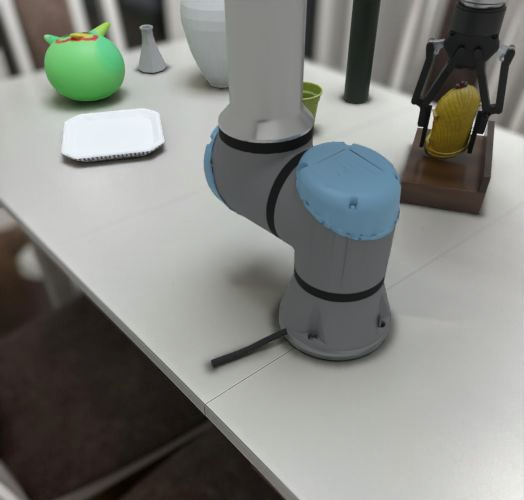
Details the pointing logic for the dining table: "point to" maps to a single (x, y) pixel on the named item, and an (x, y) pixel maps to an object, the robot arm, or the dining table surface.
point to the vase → (207, 38)
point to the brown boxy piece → (449, 175)
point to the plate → (112, 135)
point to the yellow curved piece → (453, 122)
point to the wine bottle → (361, 49)
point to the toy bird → (84, 64)
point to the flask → (150, 52)
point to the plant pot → (311, 96)
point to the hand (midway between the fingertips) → (445, 146)
